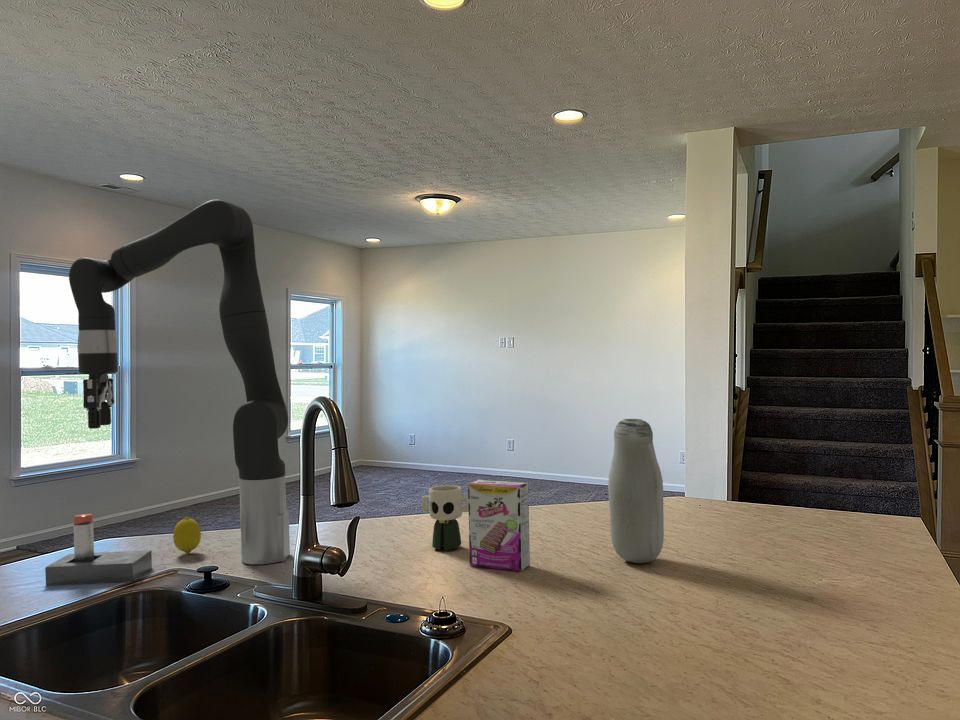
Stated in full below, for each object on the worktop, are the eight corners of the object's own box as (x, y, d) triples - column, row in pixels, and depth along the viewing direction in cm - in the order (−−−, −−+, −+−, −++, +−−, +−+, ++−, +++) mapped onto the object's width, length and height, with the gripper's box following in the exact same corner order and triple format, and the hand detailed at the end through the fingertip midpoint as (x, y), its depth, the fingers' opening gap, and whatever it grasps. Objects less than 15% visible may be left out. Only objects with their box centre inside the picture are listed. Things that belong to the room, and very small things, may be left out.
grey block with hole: (151, 567, 146) (151, 550, 146) (133, 581, 136) (132, 563, 136) (70, 571, 144) (69, 553, 144) (45, 585, 135) (45, 567, 135)
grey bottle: (672, 559, 141) (669, 417, 141) (646, 572, 134) (642, 422, 133) (629, 551, 148) (625, 415, 148) (601, 562, 140) (597, 419, 140)
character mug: (417, 551, 152) (415, 490, 152) (428, 542, 159) (426, 484, 159) (466, 554, 149) (464, 491, 149) (475, 545, 156) (474, 485, 156)
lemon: (191, 557, 152) (190, 520, 152) (168, 557, 153) (167, 519, 153) (206, 550, 157) (205, 514, 157) (184, 550, 158) (182, 513, 158)
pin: (98, 573, 142) (96, 513, 142) (89, 579, 139) (88, 517, 139) (80, 574, 142) (78, 514, 142) (71, 580, 138) (69, 518, 138)
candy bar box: (468, 567, 140) (466, 483, 140) (479, 560, 144) (477, 478, 144) (521, 573, 135) (519, 486, 135) (531, 565, 140) (529, 481, 140)
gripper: (108, 350, 149) (110, 428, 149) (124, 351, 163) (126, 423, 163) (68, 351, 147) (70, 430, 147) (88, 352, 161) (90, 424, 161)
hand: (100, 426), depth 155 cm, fingers open, 8 cm apart
